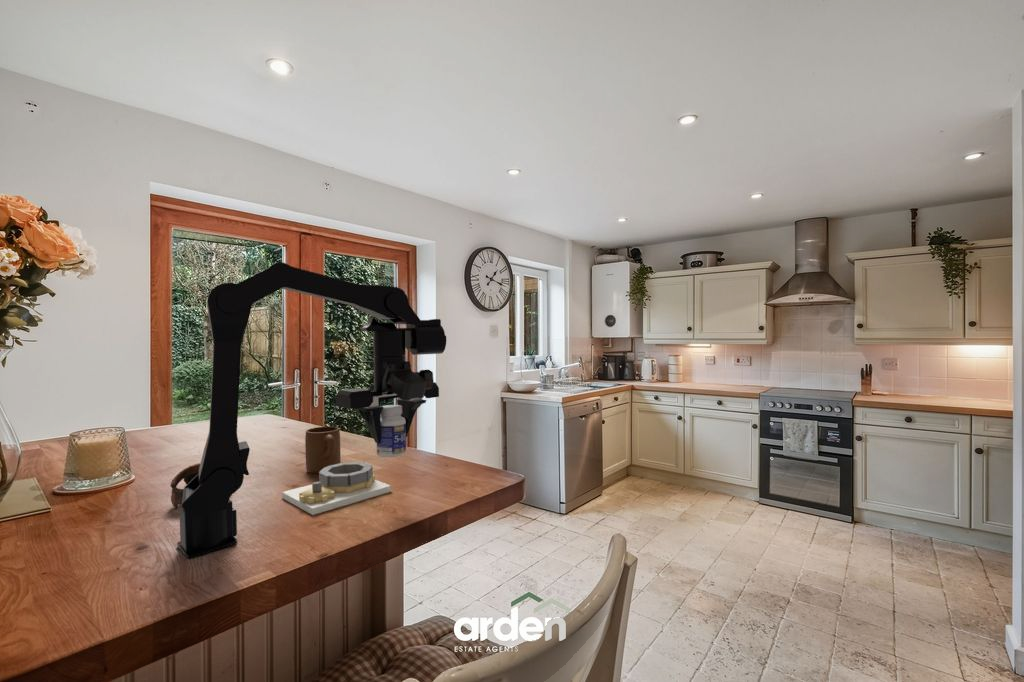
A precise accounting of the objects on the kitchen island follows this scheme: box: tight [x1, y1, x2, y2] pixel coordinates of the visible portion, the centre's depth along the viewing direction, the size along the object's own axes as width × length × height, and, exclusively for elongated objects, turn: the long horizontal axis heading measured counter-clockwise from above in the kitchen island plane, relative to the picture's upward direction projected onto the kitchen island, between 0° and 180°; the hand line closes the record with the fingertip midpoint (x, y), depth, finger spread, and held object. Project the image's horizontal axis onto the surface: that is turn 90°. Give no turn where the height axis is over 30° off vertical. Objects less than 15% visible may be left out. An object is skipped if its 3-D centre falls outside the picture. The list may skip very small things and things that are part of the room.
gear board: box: [281, 461, 392, 516], centre depth 94 cm, size 16×13×4 cm
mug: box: [304, 426, 342, 474], centre depth 110 cm, size 12×8×9 cm, turn 35°
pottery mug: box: [170, 462, 201, 510], centre depth 92 cm, size 12×10×8 cm
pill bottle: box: [376, 404, 407, 458], centre depth 88 cm, size 5×5×9 cm
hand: (391, 440), depth 88 cm, fingers closed on pill bottle, 5 cm apart
